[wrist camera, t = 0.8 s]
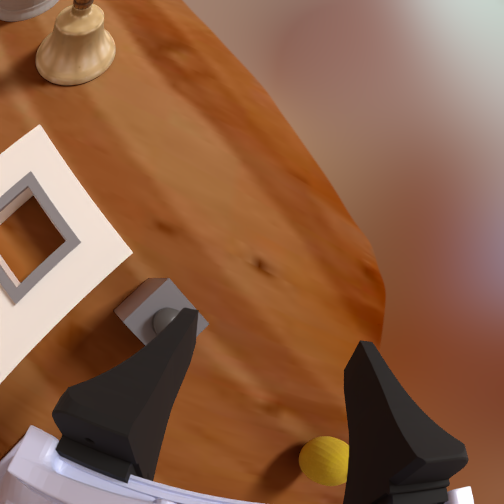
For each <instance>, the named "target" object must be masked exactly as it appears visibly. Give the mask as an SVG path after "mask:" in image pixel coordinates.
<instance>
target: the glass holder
mask: <svg viewBox="0 0 504 504" xmlns="http://www.w3.org/2000/svg"><path fill="white" fill-rule="evenodd" d="M58 1H59V0H0V20H3V21H9V22H15V21H22V20H26V19H30V18H33V17H35V16H38V15H40V14H42V13H44V12H45V11H47V10H49V9H50V8H51V7H53V6H54V5H55V4H56V3H57V2H58Z"/></svg>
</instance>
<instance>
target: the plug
mask: <svg viewBox="0 0 504 504" xmlns="http://www.w3.org/2000/svg"><path fill="white" fill-rule="evenodd" d="M185 307H186V308H190V309H194V310H196V309H195V307H194V306H193V305H192V304H191V303H190V302H189V301H188V299H187V298H186V297H185V296H184V295H183V294H182V293H181V291H180V290H179V289H178V288H177V287H176V286H175V284H174V283H173V282H172V281H171V280H170V279H169V278H148V279H147V280H146V281H144V282H143V283H142V284H141V285H140V286H139V287H138V288H137V289H136V290H135V291H134V292H133V293H132V294H131V295H129V296H128V297H127V298H126V299H125V300H124V301H123V302H122V303H121V304H120V305H119V306H118V307H117V308H116V309H115V310H114V312H115V313H116V315H117V316H118V317H119V318H120V319H121V320H122V321H123V322H124V324H125V325H126V326H127V327H128V328H129V329H130V330H131V331H132V332H133V333H134V334H135V335H136V336H137V337H138V338H139V340H140V341H141V342H142V343H143V344H144V345H145V346H146V345H147V344H148V343H149V342H150V341H152V340H153V339H154V338H155V337H156V336H157V335H158V334H159V333H160V332H161V331H162V330H163V329H164V328H165V327H166V326H167V325H168V324H169V323H170V322H171V321H172V320H173V319H174V318H175V317H176V316H177V315H178V313H179V312H180V311H181V310H182V309H183V308H185ZM208 325H209V323H208V322H207V321H206V320H205V319H204V318H203V316H202V315H201V314H200V313H199V312H198V322H197V334H196V337H197V336H198V335H199V334H200V333H201V332H202V331H203V330H204V329H205V328H206V327H207V326H208Z"/></svg>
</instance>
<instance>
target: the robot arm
mask: <svg viewBox="0 0 504 504" xmlns="http://www.w3.org/2000/svg"><path fill="white" fill-rule="evenodd" d="M198 312H199V310H194V309H190V308H186V307H185V308H183V309H182V310H181V311H180V312H179V313H178V315H177V316H176V317H175V318H174V319H173V320H172V321H171V322H170V323H169V324H168V325H167V326H166V327H165V328H164V329H163V330H162V331H161V332H160V333H159V334H158V335H157V336H156V337H155V338H154V339H153V340H152V341H150V342H149V343H148V344H147V345H146V346H144V347H143V348H142V349H141V350H139V351H138V352H137V353H135V354H134V355H133V356H131V357H130V358H128V359H127V360H125V361H124V362H122V363H121V364H119V365H117V366H116V367H114V368H112V369H110V370H109V371H107V372H105V373H103V374H101V375H98V376H96V377H94V378H92V379H90V380H88V381H85V382H82V383H80V384H77V385H74V386H71V387H68V389H67V390H66V391H65V392H64V394H63V395H62V396H61V398H60V399H59V401H58V403H57V405H56V406H55V408H54V410H53V412H52V417H53V419H54V421H55V423H56V425H57V426H58V428H59V430H60V431H61V433H62V437H61V439H60V441H59V440H58V439H57V438H55V437H54V436H52V435H50V434H48V433H46V432H44V431H42V430H41V429H39V428H37V427H35V426H33V425H31V426H30V427H29V429H28V431H27V432H26V434H25V436H24V437H23V438H22V439H21V440H20V441H19V442H18V443H17V444H16V445H15V446H14V447H13V448H12V449H11V450H10V452H9V453H8V454H7V455H6V456H5V457H4V458H3V459H2V460H1V461H0V504H263V503H254V502H247V501H240V500H233V499H227V498H221V497H216V496H211V495H206V494H201V493H196V492H192V491H187V490H183V489H179V488H175V487H171V486H168V485H164V484H160V483H157V482H153V479H154V474H155V470H156V465H157V461H158V457H159V453H160V449H161V445H162V441H163V437H164V434H165V430H166V426H167V423H168V419H169V416H170V412H171V409H172V406H173V403H174V401H175V398H176V396H177V393H178V391H179V389H180V386H181V384H182V381H183V379H184V377H185V374H186V372H187V369H188V367H189V365H190V362H191V358H192V355H193V351H194V348H195V344H196V334H197V322H198ZM344 394H345V403H346V411H347V420H348V429H349V458H348V472H347V481H346V489H345V495H344V501H343V504H474V501H473V496H472V491H471V487H470V486H468V487H463V488H459V489H454V490H451V491H449V492H447V489H446V487H447V486H449V484H450V483H449V478H450V477H452V476H453V475H454V474H456V473H457V472H458V471H460V470H461V469H462V468H464V467H465V465H466V464H467V462H468V456H467V452H466V448H465V445H464V444H463V443H462V442H460V441H459V440H457V439H456V438H454V437H453V436H451V435H450V434H448V433H447V432H446V431H444V430H443V429H442V428H441V427H439V426H438V425H437V424H436V423H435V422H434V421H433V420H431V419H430V418H429V417H428V416H427V415H426V414H425V413H424V412H423V411H422V410H421V409H420V408H419V407H418V406H417V404H416V403H415V402H414V401H413V400H412V399H411V397H410V396H409V395H408V394H407V392H406V391H405V390H404V388H403V387H402V386H401V385H400V383H399V382H398V380H397V379H396V377H395V376H394V375H393V373H392V372H391V370H390V369H389V368H388V366H387V364H386V362H385V361H384V359H383V358H382V356H381V355H380V353H379V352H378V350H377V348H376V347H375V345H374V344H373V343H372V342H367V341H360V342H359V344H358V345H357V347H356V349H355V351H354V353H353V355H352V357H351V359H350V360H349V362H348V364H347V366H346V368H345V369H344Z"/></svg>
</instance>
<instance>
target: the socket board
mask: <svg viewBox="0 0 504 504" xmlns="http://www.w3.org/2000/svg"><path fill="white" fill-rule="evenodd" d="M32 196H34V197H35V199H36V200H37V202H38V203H39V204H40V206H41V207H42V209H43V210H44V212H45V213H46V215H47V216H48V218H49V219H50V220H51V222H52V223H53V225H54V226H55V227H56V229H57V230H58V231H59V233H60V234H61V236H62V237H63V238H64V240H65V242H64V243H63V244H62V245H61V246H60V247H59V248H58V249H56V250H55V251H54V252H53V253H52V254H51V255H50V256H49V257H48V258H47V259H46V260H45V261H43V262H42V263H41V264H40V265H39V266H38V267H37V268H36V269H35V270H34V271H33V272H32V273H31V274H30V275H29V276H28V277H27V278H26V279H25V280H24V281H23V282H22V283H20V282H19V281H18V279H17V278H16V277H15V275H14V274H13V272H12V271H11V270H10V268H9V267H8V265H7V264H6V262H5V261H4V260H3V258H2V257H1V255H0V383H1V382H2V381H3V380H4V379H5V378H6V377H7V375H8V374H9V373H10V372H11V371H12V370H13V369H14V368H15V367H16V366H17V365H18V363H19V362H20V361H21V360H22V359H23V358H24V357H25V356H26V355H27V354H28V353H29V352H30V351H31V350H32V349H33V348H34V347H35V345H36V344H37V343H38V342H39V341H40V340H41V339H42V338H43V337H44V336H45V335H46V334H47V333H48V332H49V331H50V330H51V329H52V328H53V327H54V326H55V325H56V324H57V323H58V322H59V321H60V320H61V319H62V318H63V317H64V316H65V315H66V314H67V313H68V312H69V311H70V310H71V309H72V308H73V307H74V306H76V305H77V304H78V303H79V302H80V301H81V300H82V299H83V298H84V297H85V296H86V295H87V294H88V293H89V292H90V291H91V290H92V289H93V288H95V287H96V286H97V285H98V284H99V283H100V282H101V281H102V280H103V279H104V278H105V277H106V276H108V275H109V274H110V273H111V272H112V271H113V270H114V269H115V268H116V267H117V266H119V265H120V264H121V263H122V262H123V261H124V260H125V259H126V258H128V257H129V256H130V255H131V254H132V253H133V252H132V251H131V250H130V248H129V247H128V246H127V245H126V243H125V242H124V241H123V240H122V238H121V237H120V236H119V234H118V233H117V232H116V231H115V229H114V228H113V227H112V225H111V224H110V223H109V222H108V220H107V219H106V218H105V216H104V215H103V214H102V212H101V211H100V210H99V208H98V207H97V206H96V204H95V203H94V202H93V200H92V199H91V198H90V196H89V195H88V194H87V192H86V191H85V189H84V188H83V187H82V185H81V184H80V183H79V181H78V180H77V178H76V177H75V176H74V174H73V173H72V171H71V170H70V168H69V167H68V166H67V164H66V163H65V161H64V160H63V158H62V157H61V155H60V154H59V152H58V151H57V149H56V148H55V146H54V145H53V143H52V142H51V140H50V139H49V137H48V136H47V134H46V133H45V131H44V130H43V128H42V126H41V125H38V126H37V127H35V128H34V129H33V130H31V131H30V132H29V133H27V134H26V135H24V136H23V137H22V138H20V139H19V140H18V141H17V142H15V143H14V144H13V145H11V146H10V147H9V148H8V149H6V150H5V151H4V152H3V153H1V154H0V225H1V224H2V223H3V222H4V221H5V220H6V219H7V218H8V217H9V216H10V215H12V214H13V213H14V212H15V211H16V210H17V209H18V208H19V207H20V206H22V205H23V204H24V203H25V202H26V201H27V200H28V199H30V198H31V197H32Z"/></svg>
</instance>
